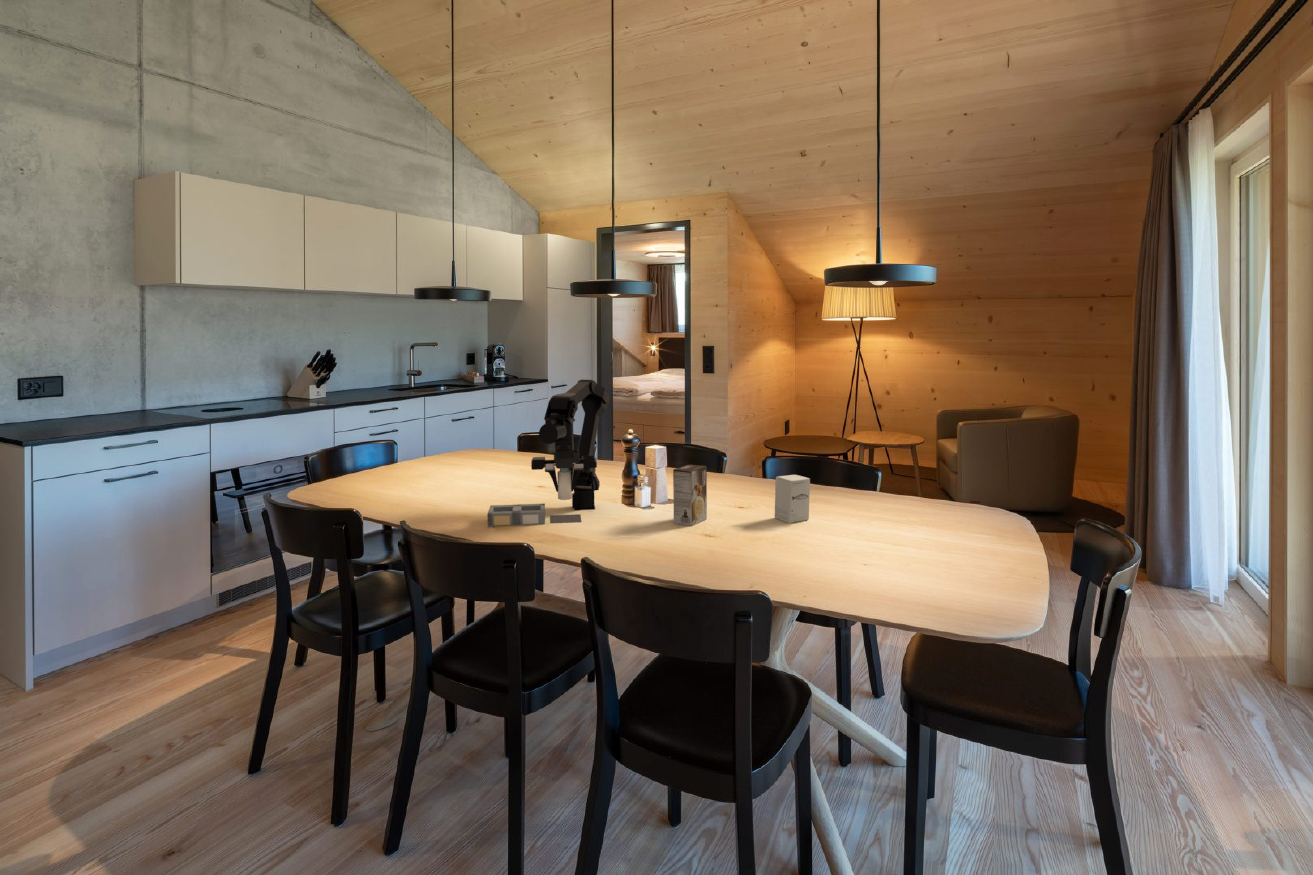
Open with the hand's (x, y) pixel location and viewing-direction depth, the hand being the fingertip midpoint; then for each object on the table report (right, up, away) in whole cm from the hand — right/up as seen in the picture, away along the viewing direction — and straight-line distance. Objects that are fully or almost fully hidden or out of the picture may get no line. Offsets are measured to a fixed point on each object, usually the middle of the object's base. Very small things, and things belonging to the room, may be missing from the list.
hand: (564, 491), depth 216 cm
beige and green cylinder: (0, -2, 0) cm, 2 cm away
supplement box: (+67, -8, +2) cm, 67 cm away
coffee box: (+37, -9, -1) cm, 38 cm away
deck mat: (0, -9, +1) cm, 9 cm away
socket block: (-14, -9, 0) cm, 16 cm away
